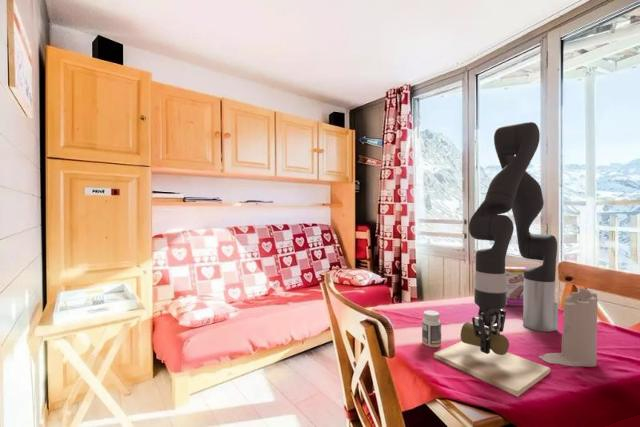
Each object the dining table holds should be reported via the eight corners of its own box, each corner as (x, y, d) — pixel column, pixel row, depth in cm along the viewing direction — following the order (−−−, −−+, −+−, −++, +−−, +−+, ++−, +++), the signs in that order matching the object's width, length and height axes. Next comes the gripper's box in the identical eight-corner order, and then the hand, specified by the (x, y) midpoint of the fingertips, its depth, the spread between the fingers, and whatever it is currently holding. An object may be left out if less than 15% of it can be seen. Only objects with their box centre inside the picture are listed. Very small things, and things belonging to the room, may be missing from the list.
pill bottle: (441, 341, 98) (441, 311, 98) (440, 349, 93) (440, 317, 93) (423, 338, 100) (423, 308, 100) (421, 345, 95) (421, 314, 95)
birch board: (433, 357, 88) (433, 353, 88) (468, 341, 98) (468, 338, 98) (517, 396, 70) (517, 391, 70) (550, 372, 80) (550, 368, 80)
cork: (464, 319, 88) (504, 332, 79) (474, 325, 91) (514, 338, 82) (458, 340, 87) (498, 355, 78) (468, 345, 90) (508, 361, 81)
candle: (533, 353, 90) (534, 286, 89) (581, 354, 90) (582, 286, 89) (551, 366, 83) (552, 292, 82) (603, 367, 82) (605, 293, 82)
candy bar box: (503, 306, 132) (503, 268, 132) (497, 302, 137) (498, 266, 137) (530, 307, 131) (531, 269, 131) (524, 303, 136) (524, 266, 136)
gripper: (490, 295, 76) (489, 363, 77) (517, 287, 84) (516, 348, 85) (462, 288, 82) (461, 352, 83) (489, 281, 90) (488, 339, 91)
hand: (489, 350), depth 84 cm, fingers closed on cork, 3 cm apart
